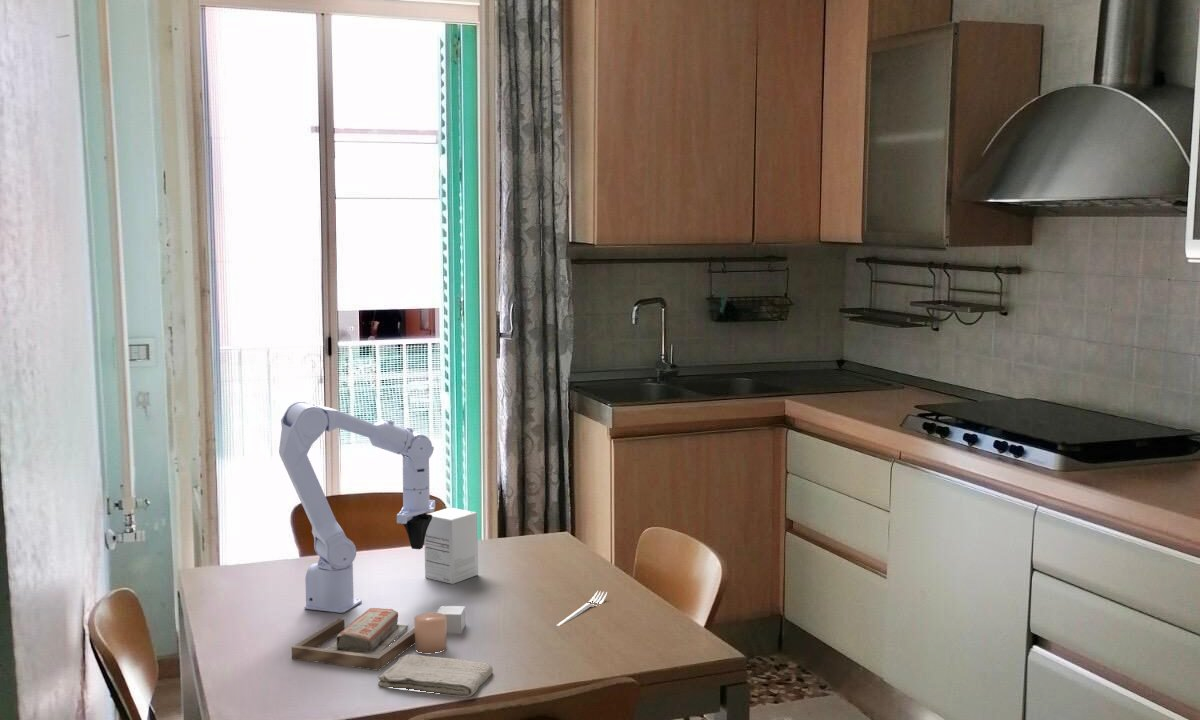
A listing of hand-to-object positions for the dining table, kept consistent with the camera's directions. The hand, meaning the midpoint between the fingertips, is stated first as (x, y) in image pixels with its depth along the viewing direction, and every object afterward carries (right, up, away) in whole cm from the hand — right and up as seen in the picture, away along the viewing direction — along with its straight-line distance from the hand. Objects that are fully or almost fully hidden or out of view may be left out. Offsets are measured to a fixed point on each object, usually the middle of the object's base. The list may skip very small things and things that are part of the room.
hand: (417, 548), depth 247 cm
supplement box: (+6, -9, +13) cm, 17 cm away
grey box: (+10, -13, -22) cm, 27 cm away
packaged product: (-5, -14, -30) cm, 33 cm away
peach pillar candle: (+8, -14, -33) cm, 36 cm away
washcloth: (+11, -16, -48) cm, 52 cm away
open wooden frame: (-6, -13, -33) cm, 36 cm away
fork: (+36, -12, -11) cm, 40 cm away
